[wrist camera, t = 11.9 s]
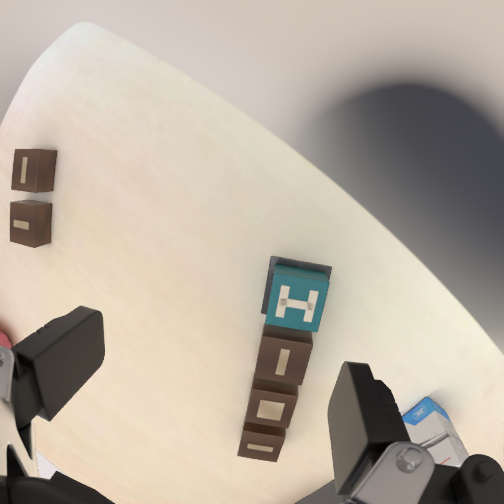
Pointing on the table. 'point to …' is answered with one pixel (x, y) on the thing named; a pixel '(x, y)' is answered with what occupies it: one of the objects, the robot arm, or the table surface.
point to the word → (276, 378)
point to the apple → (4, 340)
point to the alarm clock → (324, 496)
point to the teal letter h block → (297, 298)
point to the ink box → (435, 433)
